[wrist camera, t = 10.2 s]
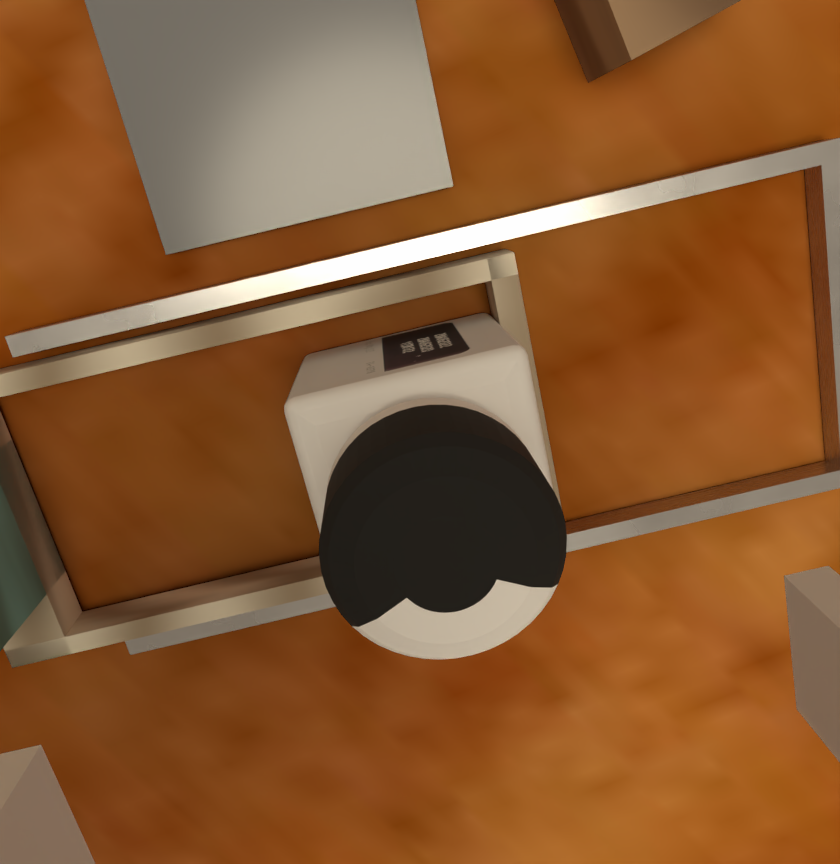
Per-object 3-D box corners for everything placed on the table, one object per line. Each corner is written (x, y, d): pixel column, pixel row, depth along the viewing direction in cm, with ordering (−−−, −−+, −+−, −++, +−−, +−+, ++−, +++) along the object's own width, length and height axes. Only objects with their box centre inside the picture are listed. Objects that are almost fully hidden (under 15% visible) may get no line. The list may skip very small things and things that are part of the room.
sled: (32, 640, 33) (-85, 794, 25) (-78, 387, 30) (-258, 463, 21) (555, 517, 33) (620, 628, 25) (504, 248, 30) (559, 269, 21)
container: (300, 354, 31) (254, 459, 18) (489, 309, 31) (571, 384, 18) (349, 527, 33) (337, 725, 21) (524, 485, 33) (618, 658, 21)
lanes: (138, 639, 34) (130, 654, 33) (18, 331, 30) (4, 336, 29) (844, 473, 34) (861, 482, 33) (823, 140, 30) (841, 137, 28)
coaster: (169, 253, 29) (165, 254, 29) (66, -72, 26) (59, -78, 25) (451, 186, 29) (453, 186, 29) (383, -148, 26) (383, -156, 25)
